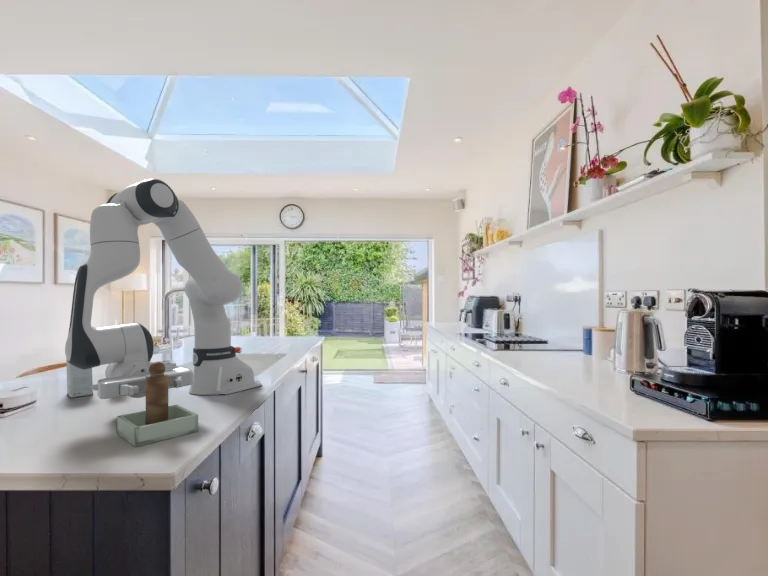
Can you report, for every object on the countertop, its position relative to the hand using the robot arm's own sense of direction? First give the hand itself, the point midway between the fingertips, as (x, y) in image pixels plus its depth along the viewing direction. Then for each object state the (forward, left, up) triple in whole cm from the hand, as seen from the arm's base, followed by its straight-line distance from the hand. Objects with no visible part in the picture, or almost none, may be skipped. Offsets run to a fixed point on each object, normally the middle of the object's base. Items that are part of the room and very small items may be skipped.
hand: (158, 387), depth 95 cm
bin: (0, 0, -10) cm, 10 cm away
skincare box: (+4, -58, -10) cm, 59 cm away
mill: (0, -1, -9) cm, 10 cm away
